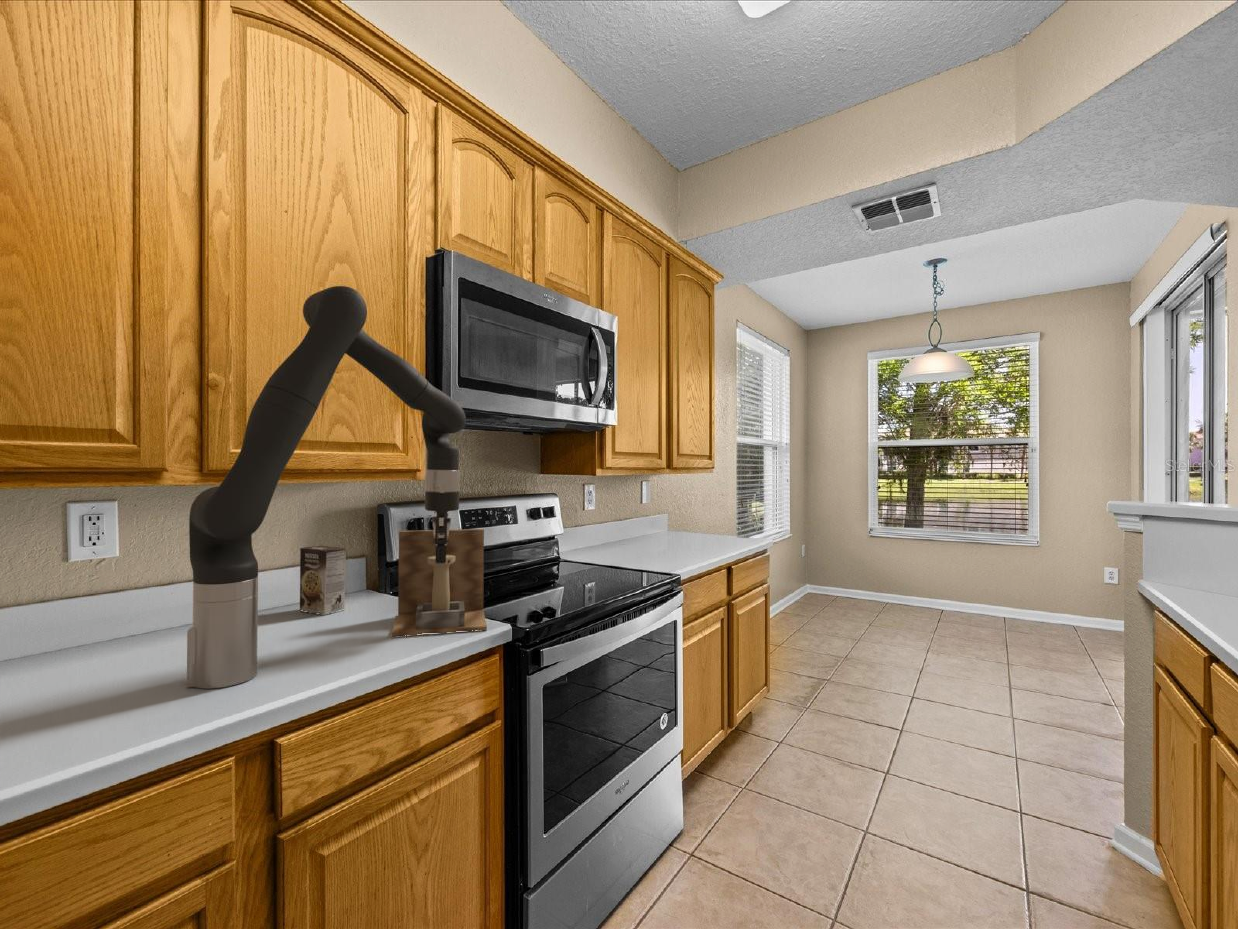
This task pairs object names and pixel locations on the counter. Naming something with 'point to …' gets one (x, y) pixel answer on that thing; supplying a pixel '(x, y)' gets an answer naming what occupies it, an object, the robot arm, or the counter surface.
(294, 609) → the counter surface
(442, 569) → the handle
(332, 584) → the coffee box
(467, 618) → the board
